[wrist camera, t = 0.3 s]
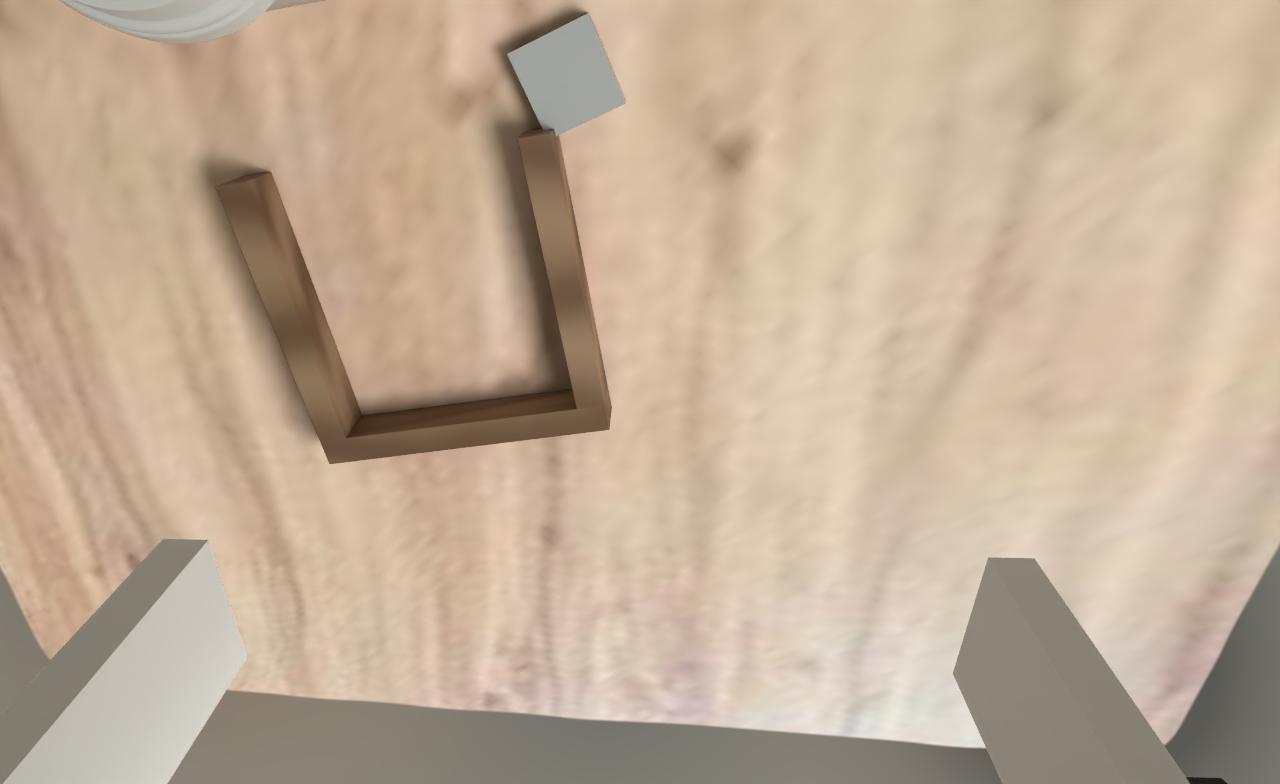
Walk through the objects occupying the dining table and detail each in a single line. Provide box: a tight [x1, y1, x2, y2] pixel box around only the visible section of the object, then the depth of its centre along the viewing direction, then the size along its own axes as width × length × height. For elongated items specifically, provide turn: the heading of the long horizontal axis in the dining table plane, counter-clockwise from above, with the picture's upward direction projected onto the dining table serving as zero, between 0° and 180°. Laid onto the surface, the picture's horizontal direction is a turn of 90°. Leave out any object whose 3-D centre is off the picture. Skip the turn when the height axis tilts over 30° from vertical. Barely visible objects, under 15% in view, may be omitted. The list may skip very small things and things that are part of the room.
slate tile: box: [507, 13, 626, 136], centre depth 33 cm, size 4×4×1 cm
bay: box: [215, 128, 612, 464], centre depth 38 cm, size 16×16×2 cm
